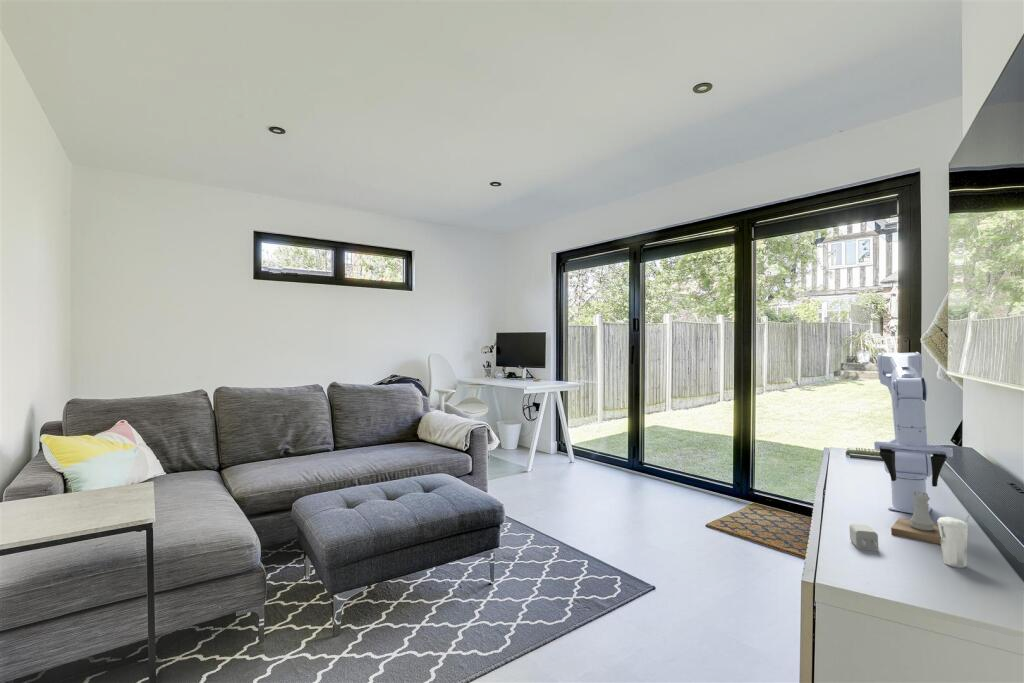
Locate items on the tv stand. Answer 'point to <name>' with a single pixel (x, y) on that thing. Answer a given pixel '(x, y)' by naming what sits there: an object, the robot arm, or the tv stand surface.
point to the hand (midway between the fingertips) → (913, 483)
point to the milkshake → (953, 540)
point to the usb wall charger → (864, 537)
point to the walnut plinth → (915, 531)
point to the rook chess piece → (921, 513)
